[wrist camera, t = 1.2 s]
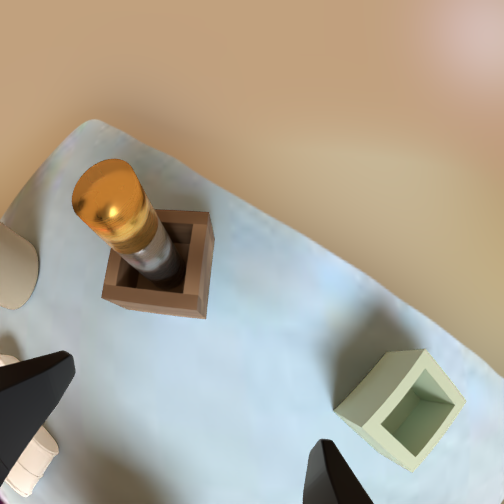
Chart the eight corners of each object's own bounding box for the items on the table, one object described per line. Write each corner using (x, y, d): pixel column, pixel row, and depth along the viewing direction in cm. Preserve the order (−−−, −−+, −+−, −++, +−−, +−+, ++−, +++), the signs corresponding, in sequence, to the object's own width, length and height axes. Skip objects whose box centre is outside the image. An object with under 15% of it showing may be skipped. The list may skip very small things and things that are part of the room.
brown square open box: (205, 319, 22) (196, 310, 17) (127, 309, 22) (101, 297, 17) (214, 239, 24) (208, 212, 20) (140, 234, 24) (121, 208, 20)
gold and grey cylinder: (154, 294, 22) (73, 231, 10) (145, 259, 22) (71, 175, 11) (191, 282, 22) (140, 204, 10) (179, 247, 23) (130, 149, 11)
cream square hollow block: (378, 452, 18) (412, 472, 12) (333, 411, 20) (361, 427, 14) (426, 396, 20) (466, 400, 14) (386, 351, 21) (425, 348, 16)
